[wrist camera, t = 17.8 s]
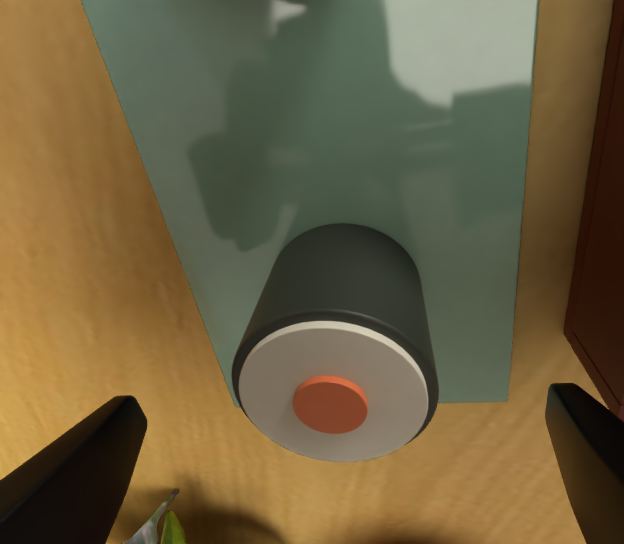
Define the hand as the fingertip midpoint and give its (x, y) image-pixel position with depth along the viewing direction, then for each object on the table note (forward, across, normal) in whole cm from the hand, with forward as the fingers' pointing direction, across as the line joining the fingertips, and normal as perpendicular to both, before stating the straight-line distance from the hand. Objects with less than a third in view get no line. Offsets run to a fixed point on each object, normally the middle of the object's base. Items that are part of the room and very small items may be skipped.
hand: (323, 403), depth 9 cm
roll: (+4, 0, 0) cm, 4 cm away
